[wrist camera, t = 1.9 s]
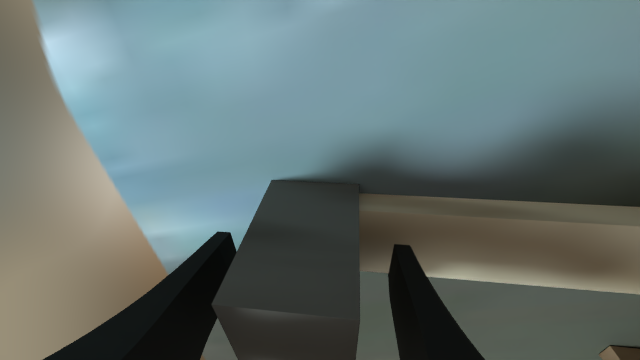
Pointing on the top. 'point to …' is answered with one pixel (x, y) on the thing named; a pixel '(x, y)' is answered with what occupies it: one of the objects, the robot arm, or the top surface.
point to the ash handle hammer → (376, 252)
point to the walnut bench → (620, 353)
